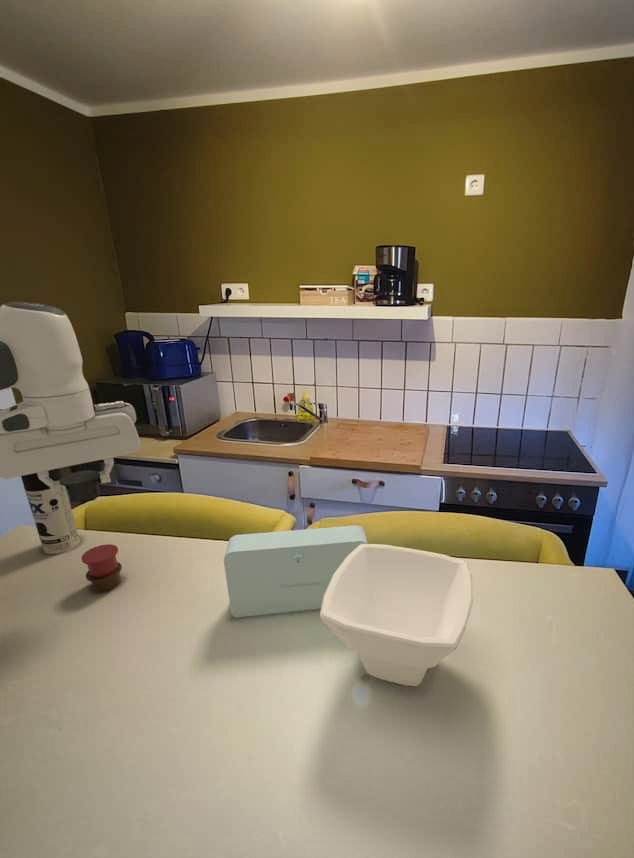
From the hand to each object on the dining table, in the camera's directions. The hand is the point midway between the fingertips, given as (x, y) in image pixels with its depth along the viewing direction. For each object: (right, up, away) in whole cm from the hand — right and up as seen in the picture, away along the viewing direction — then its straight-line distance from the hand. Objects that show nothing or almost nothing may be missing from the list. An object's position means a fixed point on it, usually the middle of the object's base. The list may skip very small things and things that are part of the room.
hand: (82, 487), depth 73 cm
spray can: (-17, -15, +20) cm, 30 cm away
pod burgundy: (0, -16, +6) cm, 17 cm away
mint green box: (+37, -21, +2) cm, 43 cm away
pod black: (0, -2, +1) cm, 2 cm away
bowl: (+53, -25, -10) cm, 60 cm away
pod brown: (0, -19, +7) cm, 21 cm away
